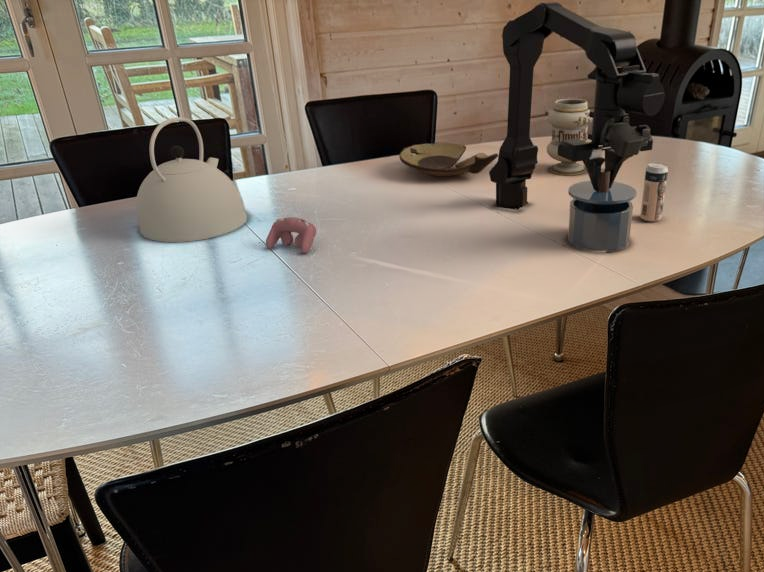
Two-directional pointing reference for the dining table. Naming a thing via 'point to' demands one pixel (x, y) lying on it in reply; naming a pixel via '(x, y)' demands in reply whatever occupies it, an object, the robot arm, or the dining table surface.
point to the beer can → (654, 192)
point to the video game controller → (283, 231)
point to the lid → (602, 191)
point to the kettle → (187, 197)
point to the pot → (600, 225)
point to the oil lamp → (443, 159)
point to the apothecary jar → (568, 132)
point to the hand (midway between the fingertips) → (602, 189)
